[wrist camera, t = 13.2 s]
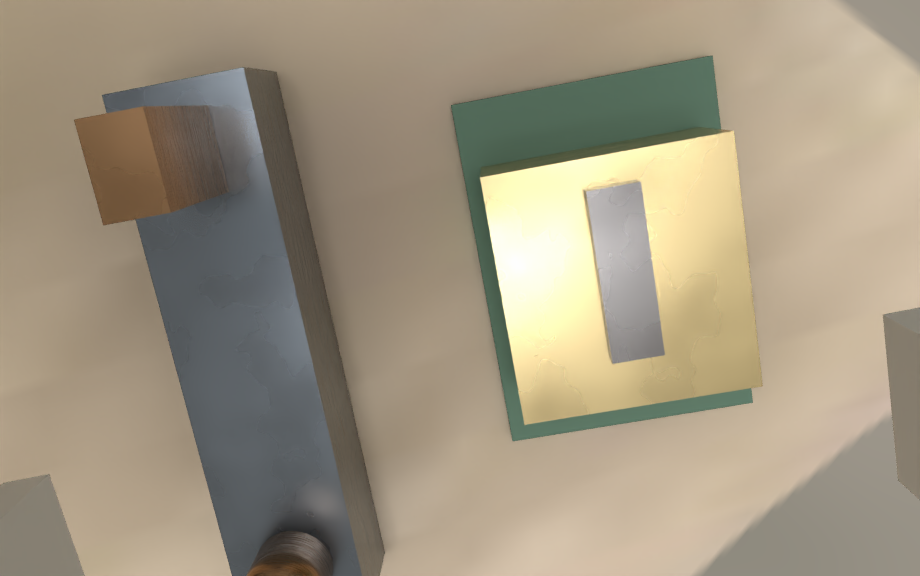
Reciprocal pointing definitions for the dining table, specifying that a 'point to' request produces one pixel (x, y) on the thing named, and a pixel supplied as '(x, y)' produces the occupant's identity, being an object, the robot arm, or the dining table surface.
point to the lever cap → (624, 273)
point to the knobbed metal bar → (242, 315)
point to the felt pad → (564, 129)
